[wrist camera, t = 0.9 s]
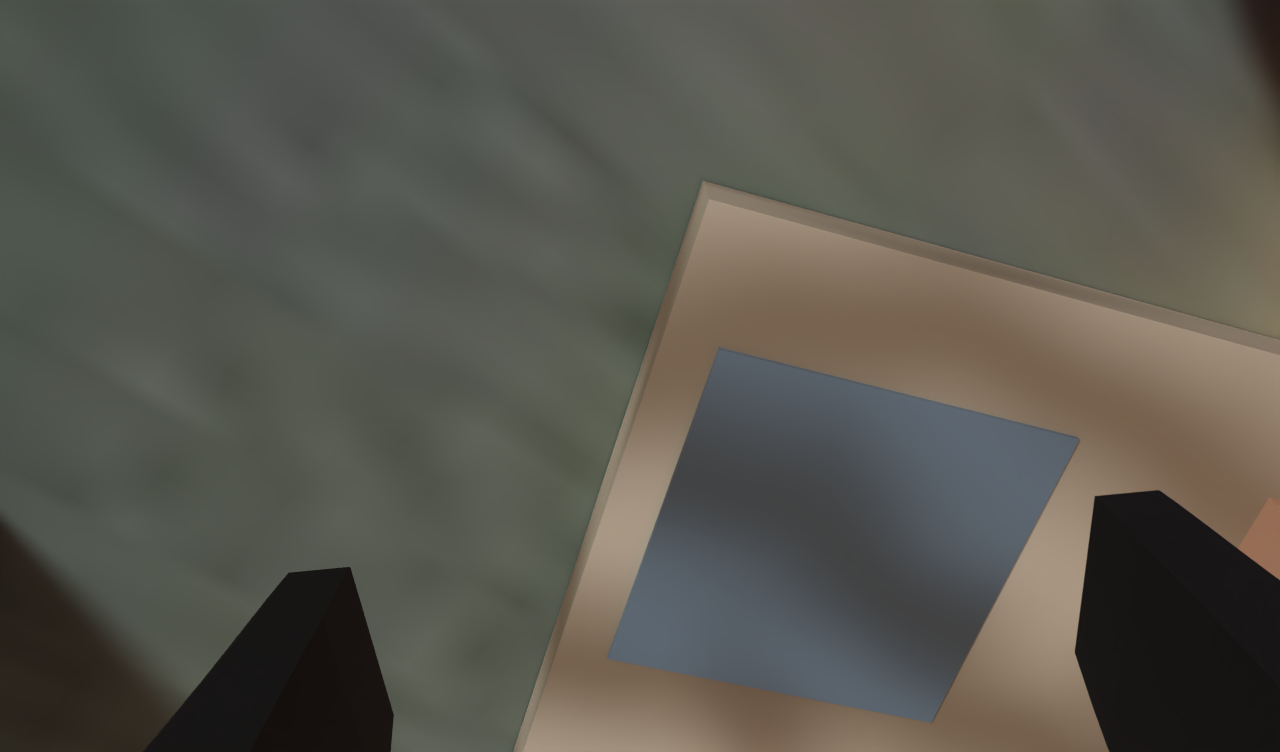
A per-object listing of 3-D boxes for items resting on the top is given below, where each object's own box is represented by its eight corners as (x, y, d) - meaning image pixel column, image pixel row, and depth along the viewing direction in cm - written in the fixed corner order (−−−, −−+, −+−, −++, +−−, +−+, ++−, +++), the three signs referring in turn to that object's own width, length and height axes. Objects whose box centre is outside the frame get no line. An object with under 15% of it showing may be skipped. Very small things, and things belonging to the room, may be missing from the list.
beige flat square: (1107, 1051, 32) (1124, 1092, 31) (445, 954, 29) (441, 996, 28) (1562, 418, 24) (1606, 446, 23) (702, 180, 20) (709, 200, 19)
